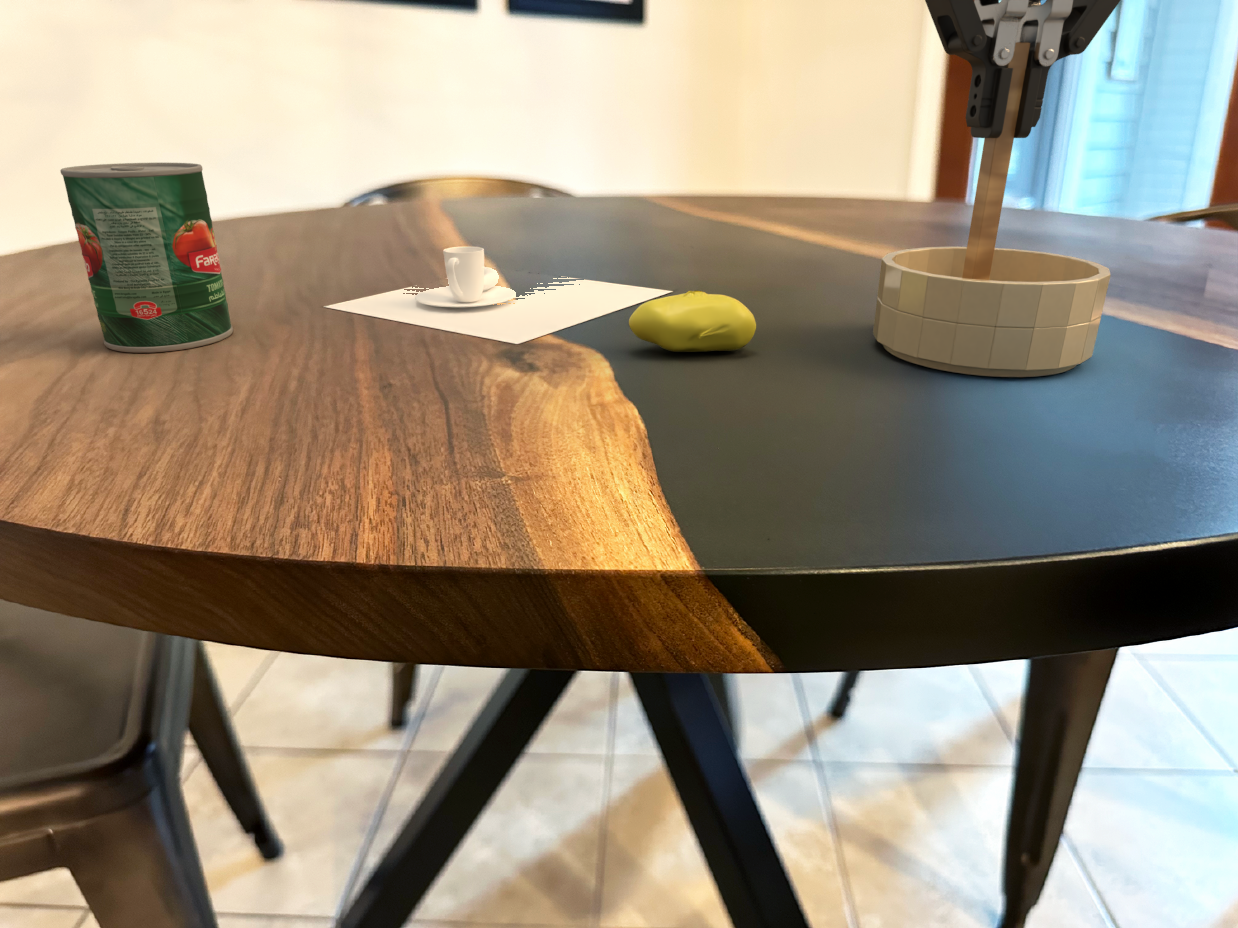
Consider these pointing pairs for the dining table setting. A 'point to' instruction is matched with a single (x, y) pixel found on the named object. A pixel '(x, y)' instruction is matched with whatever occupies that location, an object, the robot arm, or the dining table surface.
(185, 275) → the canned tomato
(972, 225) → the flat wooden stick
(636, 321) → the lemon
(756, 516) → the dining table surface
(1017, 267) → the bowl
